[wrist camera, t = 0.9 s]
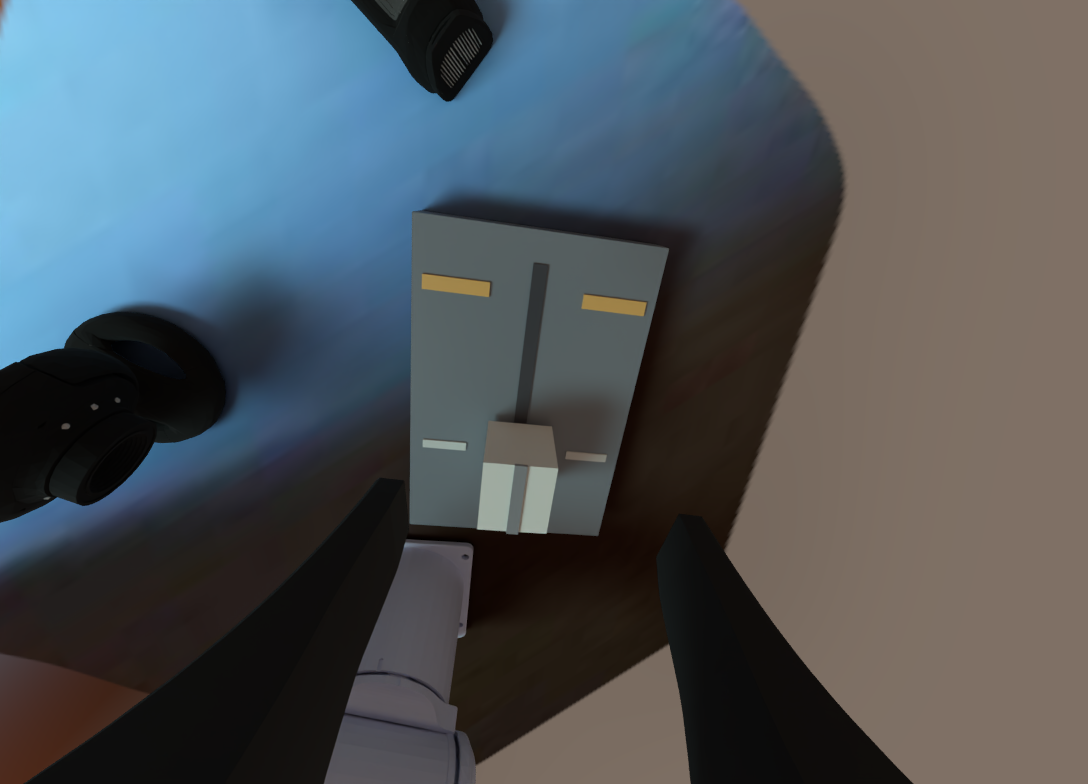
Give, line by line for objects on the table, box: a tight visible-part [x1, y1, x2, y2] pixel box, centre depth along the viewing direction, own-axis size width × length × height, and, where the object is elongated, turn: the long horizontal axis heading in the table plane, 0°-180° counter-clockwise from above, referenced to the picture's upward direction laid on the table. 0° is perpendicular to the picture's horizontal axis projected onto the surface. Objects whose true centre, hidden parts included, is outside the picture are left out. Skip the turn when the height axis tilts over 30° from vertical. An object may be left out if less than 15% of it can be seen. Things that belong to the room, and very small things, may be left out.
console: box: [410, 210, 669, 536], centre depth 24 cm, size 18×12×2 cm, turn 172°
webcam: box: [0, 312, 226, 523], centre depth 19 cm, size 8×8×10 cm
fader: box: [477, 421, 558, 535], centre depth 22 cm, size 4×4×4 cm
